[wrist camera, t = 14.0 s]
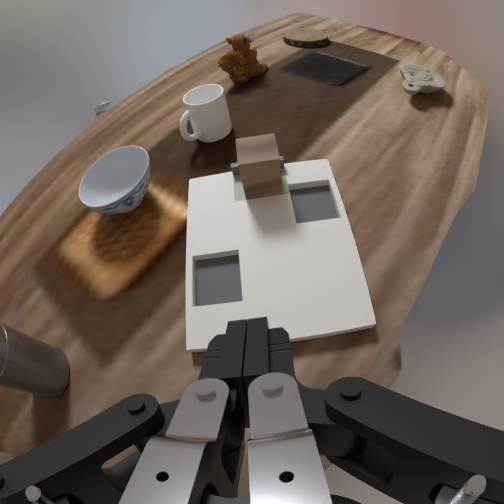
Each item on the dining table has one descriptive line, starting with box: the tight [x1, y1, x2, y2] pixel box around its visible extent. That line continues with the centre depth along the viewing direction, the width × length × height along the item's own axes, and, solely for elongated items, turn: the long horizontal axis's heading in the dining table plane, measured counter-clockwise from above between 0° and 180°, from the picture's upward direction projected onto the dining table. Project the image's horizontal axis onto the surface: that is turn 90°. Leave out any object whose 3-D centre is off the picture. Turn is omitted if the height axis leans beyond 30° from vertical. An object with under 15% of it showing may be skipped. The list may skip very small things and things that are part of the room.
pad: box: [233, 168, 290, 202], centre depth 50 cm, size 7×9×2 cm
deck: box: [186, 156, 376, 352], centre depth 44 cm, size 30×25×4 cm
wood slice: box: [283, 28, 328, 47], centre depth 84 cm, size 16×16×3 cm
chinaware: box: [79, 146, 151, 215], centre depth 52 cm, size 15×15×8 cm
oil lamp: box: [400, 62, 446, 95], centre depth 61 cm, size 21×14×5 cm
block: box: [236, 134, 283, 200], centre depth 46 cm, size 6×6×8 cm
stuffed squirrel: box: [217, 34, 267, 83], centre depth 68 cm, size 10×14×13 cm
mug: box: [180, 84, 231, 142], centre depth 56 cm, size 12×8×10 cm
